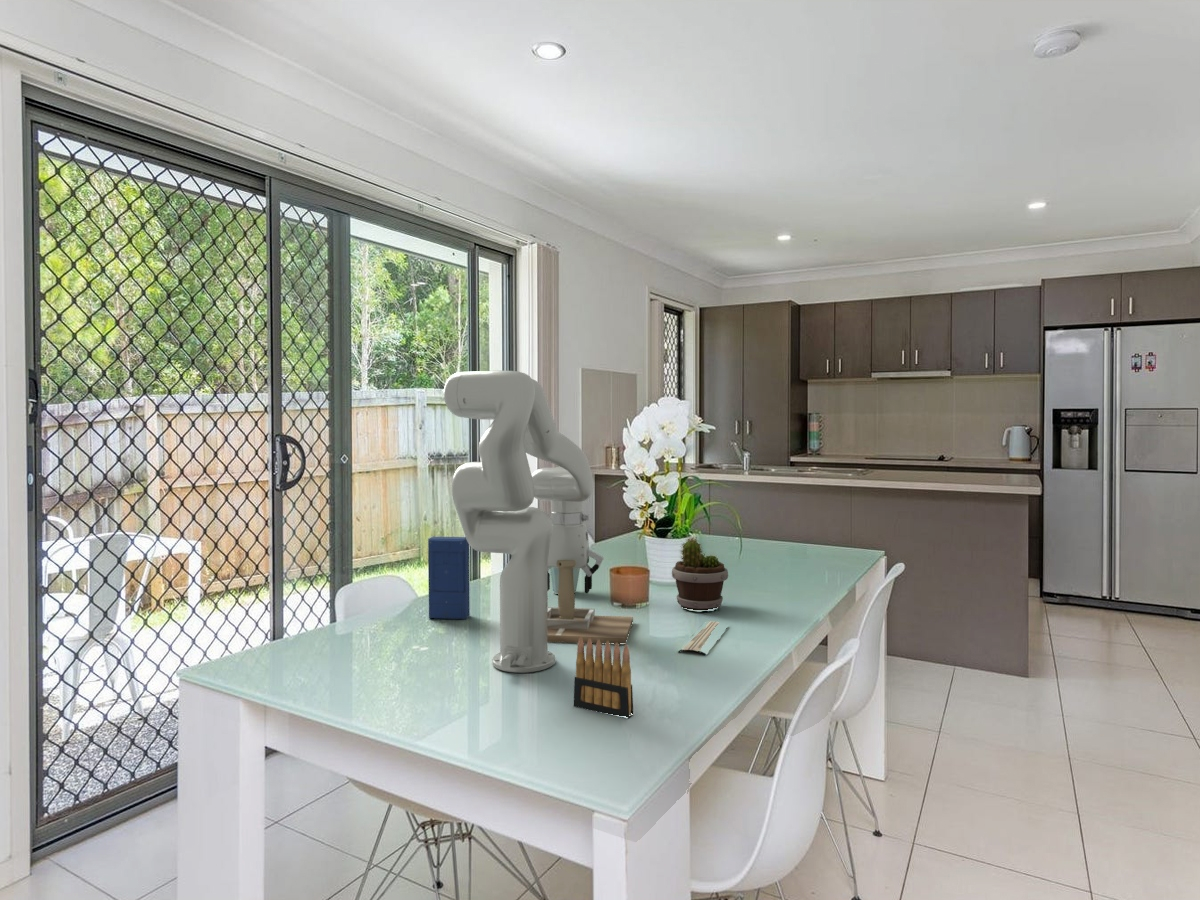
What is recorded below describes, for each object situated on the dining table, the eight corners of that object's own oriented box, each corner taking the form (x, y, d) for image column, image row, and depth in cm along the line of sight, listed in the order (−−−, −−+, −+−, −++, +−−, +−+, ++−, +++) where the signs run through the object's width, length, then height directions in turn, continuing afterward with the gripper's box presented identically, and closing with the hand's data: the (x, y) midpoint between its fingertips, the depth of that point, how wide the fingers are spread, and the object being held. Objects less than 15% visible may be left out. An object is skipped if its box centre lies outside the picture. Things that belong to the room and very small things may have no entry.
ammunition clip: (633, 715, 120) (633, 643, 120) (628, 719, 119) (628, 646, 118) (579, 702, 126) (578, 634, 125) (573, 706, 124) (573, 636, 124)
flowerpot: (699, 598, 202) (699, 526, 201) (740, 609, 189) (740, 533, 189) (659, 606, 193) (659, 531, 192) (699, 618, 181) (700, 538, 180)
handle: (561, 617, 175) (560, 555, 175) (583, 621, 172) (582, 558, 171) (549, 622, 171) (548, 559, 170) (572, 626, 168) (571, 561, 167)
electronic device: (470, 615, 184) (470, 536, 183) (464, 620, 179) (464, 539, 178) (434, 614, 185) (433, 536, 184) (427, 619, 180) (426, 539, 179)
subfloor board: (625, 645, 159) (625, 629, 159) (527, 640, 162) (527, 625, 162) (632, 623, 177) (632, 608, 177) (544, 619, 180) (544, 605, 180)
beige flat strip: (706, 659, 151) (706, 651, 151) (673, 655, 154) (673, 647, 154) (728, 630, 173) (728, 622, 173) (699, 627, 176) (699, 619, 176)
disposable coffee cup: (543, 590, 212) (543, 539, 211) (578, 588, 215) (578, 537, 215) (551, 598, 202) (551, 544, 201) (589, 595, 205) (589, 543, 204)
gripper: (605, 517, 173) (605, 589, 174) (534, 516, 176) (534, 587, 176) (601, 522, 166) (601, 596, 167) (527, 520, 168) (527, 594, 169)
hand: (566, 591), depth 171 cm, fingers open, 9 cm apart
